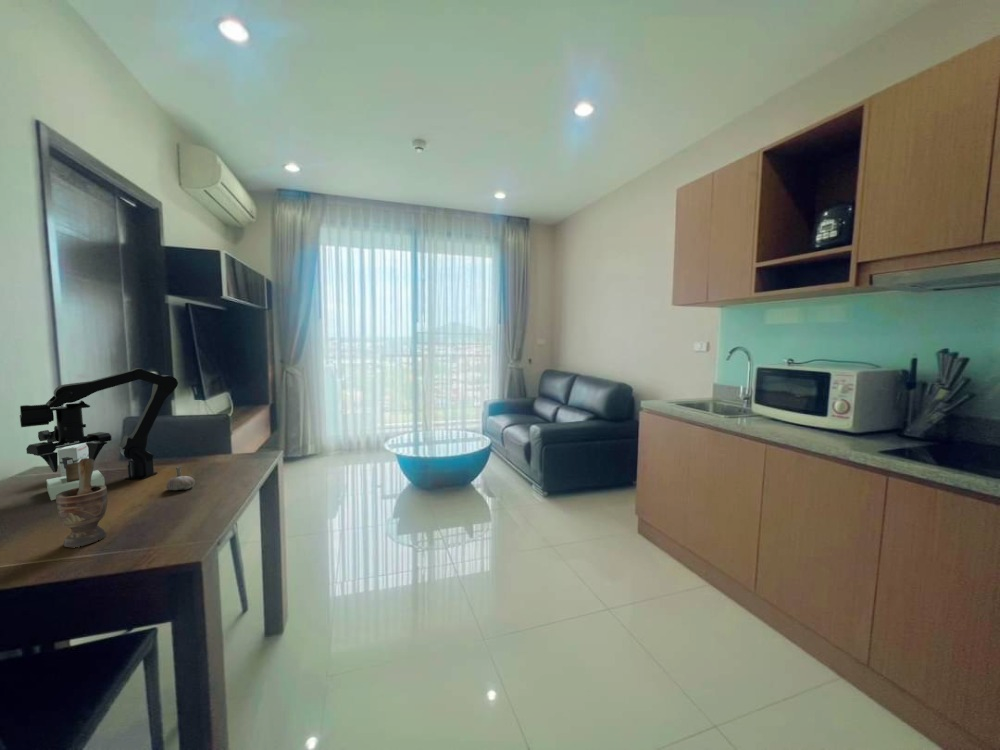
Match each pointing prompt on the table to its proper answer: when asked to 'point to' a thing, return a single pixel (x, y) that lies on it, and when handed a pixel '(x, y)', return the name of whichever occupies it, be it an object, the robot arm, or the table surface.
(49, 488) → the socket block
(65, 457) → the ink box
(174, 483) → the garlic bulb
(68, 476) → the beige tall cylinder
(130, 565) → the table surface
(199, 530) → the table surface
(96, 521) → the mortar and pestle
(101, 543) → the table surface
